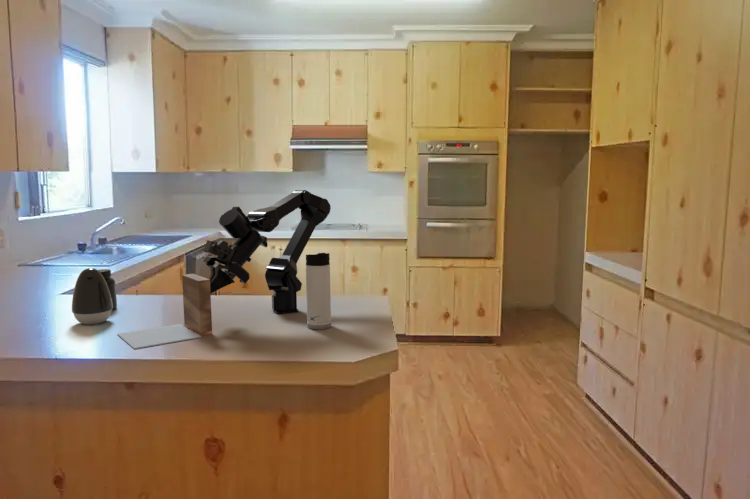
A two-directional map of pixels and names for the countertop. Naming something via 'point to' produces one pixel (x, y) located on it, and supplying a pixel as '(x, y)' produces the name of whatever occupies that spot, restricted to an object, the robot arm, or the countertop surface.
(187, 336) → the mat
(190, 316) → the walnut slab
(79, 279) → the black white egg shape
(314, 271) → the travel mug
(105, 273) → the supplement bottle
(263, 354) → the countertop surface
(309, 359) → the countertop surface
